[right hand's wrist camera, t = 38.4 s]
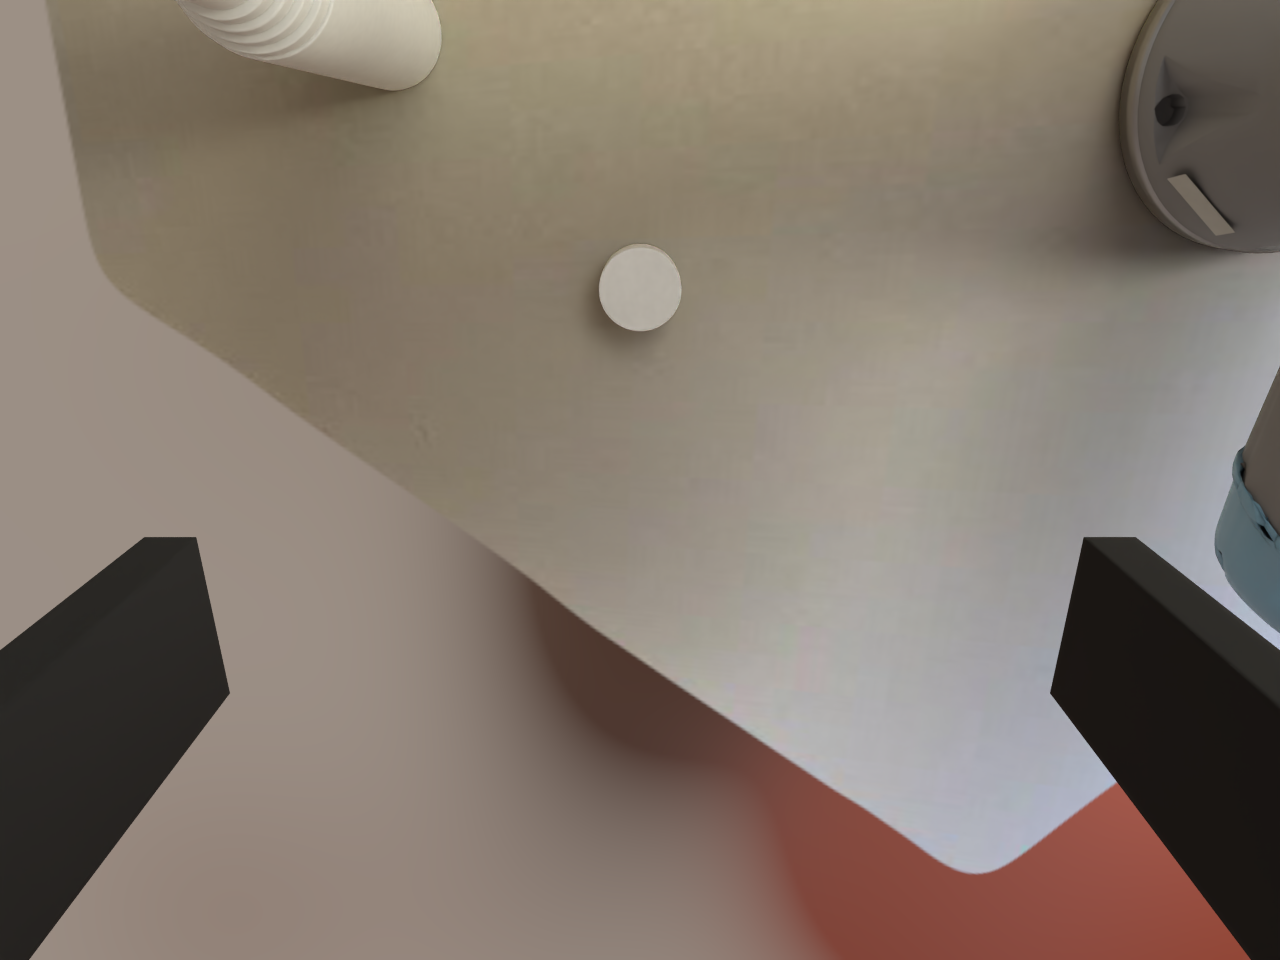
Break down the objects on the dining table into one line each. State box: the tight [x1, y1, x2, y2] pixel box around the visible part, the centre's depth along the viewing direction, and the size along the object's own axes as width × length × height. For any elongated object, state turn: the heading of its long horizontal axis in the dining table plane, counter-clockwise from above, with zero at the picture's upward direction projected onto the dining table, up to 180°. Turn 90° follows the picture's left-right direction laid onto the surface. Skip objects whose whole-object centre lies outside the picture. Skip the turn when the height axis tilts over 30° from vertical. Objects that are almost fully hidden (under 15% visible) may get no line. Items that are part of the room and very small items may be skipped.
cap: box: [599, 244, 682, 331], centre depth 43 cm, size 4×4×2 cm
